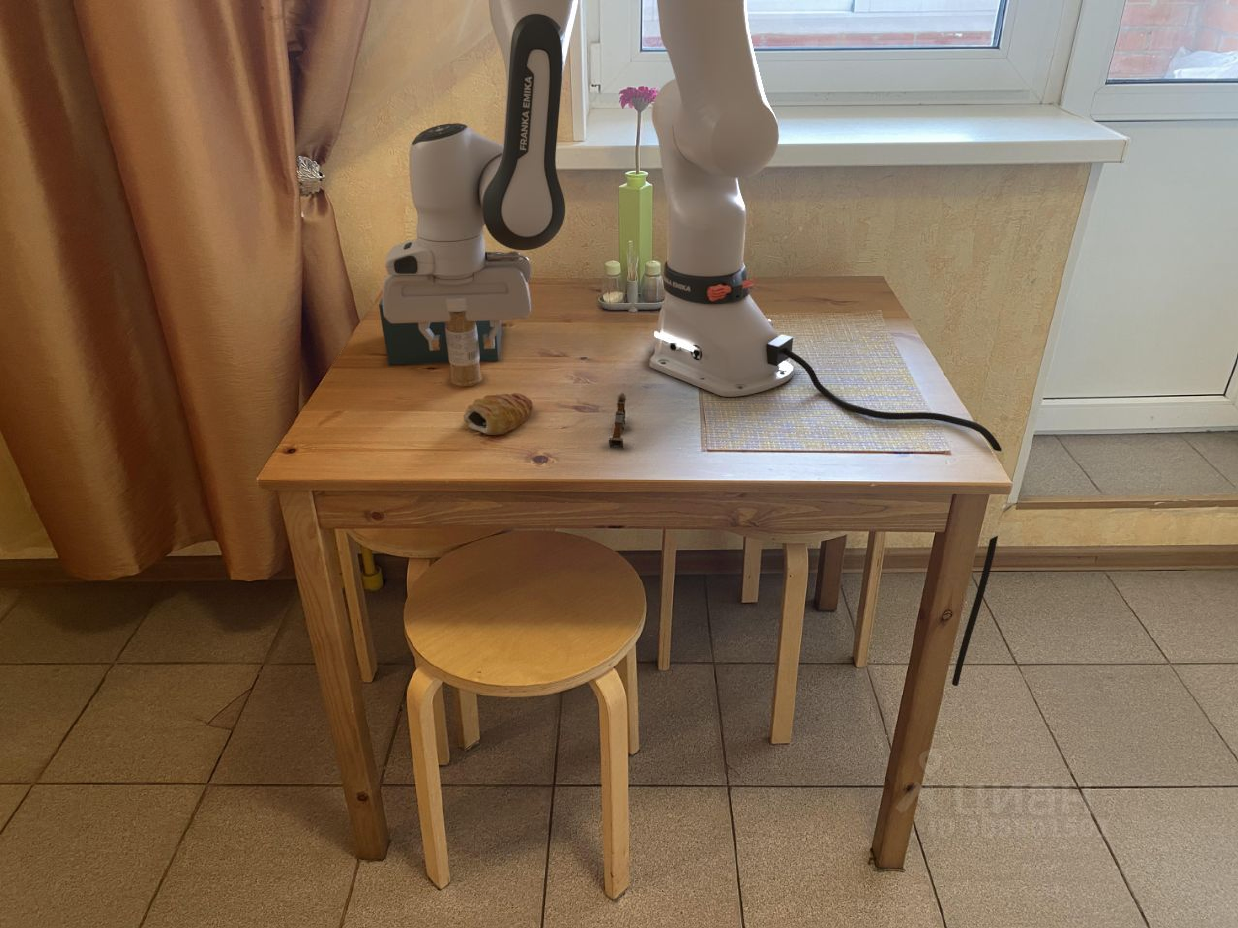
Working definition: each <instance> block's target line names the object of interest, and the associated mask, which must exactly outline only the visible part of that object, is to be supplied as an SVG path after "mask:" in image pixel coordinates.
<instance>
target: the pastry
mask: <svg viewBox="0 0 1238 928" xmlns="http://www.w3.org/2000/svg"><path fill="white" fill-rule="evenodd" d="M533 412H534V405H533V401H532V399H530V398H528V397H527V395H525V394H523V393H518V392H517V393H516V392H514V393H510V394H509V393H501V394H492V395H490V394H487V395H485V396H484V397H483V398H477V399H474V401H473V402H472V404H468V407H467V409H466V410H465V411H464V414H463V421H464V422H465V424H466V425H467V427H468V429H471V430H473V431H476V432H480V433H482V434H484V435H488V436H500V435H503V434H506V433H507V432H508V431H511V430H512V431H513V430H515V429H517V428H518V427H519V426H521V425H523V423H526V421H528V420H529V418H530V417H531V416H532V414H533Z"/></svg>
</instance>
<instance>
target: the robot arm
mask: <svg viewBox="0 0 1238 928" xmlns="http://www.w3.org/2000/svg"><path fill="white" fill-rule="evenodd" d="M656 4H657V5H656V6H657V14H658V24H659V33H660V38H661V41H662V44H663V46H664V48H665V50H666V52H667V55H668V58H669V61H670V63H671V66H672V70H673V73H674V74H673V75H674V77H675V78H673V79H671V80H669V81H668V82H666V83H665V84H664V85H663V86H662V87H661V88H660V89H659V90H658V92H657V94H656V95H655V98H654V99H653V103H652V108H651V120H652V125H653V128H654V131H655V134H656V137H657V141H658V149H659V155H660V163H661V170H662V177H663V183H664V190H665V196H666V205H667V251H666V252H667V253H666V254H667V256H666V257H667V258H666V261H665V263H664V264H663V267H664V268H663V272H662V279H663V289H664V291H665V294H664V298H663V302H662V305H661V307H660V310H659V314H658V323H657V329H656V331H654V337H655V347H654V350H653V352H654V353H653V354H652V355H651V357H650V358H649V367H650V369H653V370H656V371H658V372H660V373H663V374H666V375H669V376H671V377H673V378H675V379H678V380H681V381H683V382H685V383H688V384H691V385H693V386H695V387H698V388H700V389H703V390H705V391H707V392H710V393H711V394H715V395H718V396H721V397H725V398H726V397H727V398H729V397H731V398H733V397H743V396H744V397H745V396H750V395H754V394H758V393H761V392H765V391H768V390H771V389H774V388H776V387H779V386H780V385H783V384H785V383H787V382H788V381H789V380H791V379H792V378H793V376H794V375H795V367H794V366H793V365H792V364H790V363H789V362H788V361H786V360H788V359H791V360H793V362H794V363H797V364H798V365H799V366H800V367H801V368H803V370H805V371H806V373H807V375H808V376H809V378H810V380H811V383H812V384H813V386H814V387H815V389H816V390H817V391H818V392H819V393H821V394H822V395H823V396H824V397H825V398H827V399H828V400H830V401H832V402H833V403H835V404H836V405H837V406H839V407H840V408H842V409H844V410H847V411H849V412H853V413H856V414H860V415H864V416H866V417H867V416H868V417H871V418H875V419H882V420H898V421H899V420H932V421H938V422H939V421H940V422H945V423H949V424H952V425H956V426H961V427H965V428H969V429H972V430H973V431H975V432H977V433H979V434H981V436H983V438H985V440H986V441H987V442H988V443H989V445H990V446H991V448H992V450H994V451H995V452H1002V451H1003V449H1002V447H1001V445H1000V443H999V442H998V440H997V439H996V437H995V436H994V435H993V434H992V432H990V431H989V430H988V429H987V428H986V427H984V426H983V425H981V424H980V423H977V422H976V421H974V420H973V421H972V420H969V419H965V418H961V417H956V416H953V415H949V414H944V413H938V412H927V411H914V412H913V411H912V412H890V411H889V412H886V411H880V410H875V409H870V408H867V407H862V406H859V405H855V404H852V403H849V402H846V401H845V400H842V399H840V398H839V397H837V396H836V395H835V394H833V393H832V392H831V391H829V390H828V389H827V388H826V387H825V386H824V385H823V384H822V382H821V381H820V380H819V378H818V376H817V373H816V372H815V370H814V369H813V367H812V366H811V365H810V364H809V363H808V362H807V361H806V360H805V359H803V358H802V357H800V356H799V355H798V354H797V353H795V352H793V343H794V337H793V336H790V335H786V334H780V335H778V334H777V333H778V332H777V331H776V330H775V328H774V323H773V321H772V319H769V318H767V317H766V316H765V315H764V313H763V312H762V310H761V309H760V308H759V306H758V305H757V303H756V302H755V301H754V299H753V297H752V296H751V294H750V293H751V287H755V286H756V285H755V284H754V283H753V282H755V281H756V279H755V278H754V277H753V278H750V279H749V278H748V277H749V276H748V272H747V268H746V265H745V263H744V253H745V239H746V224H747V210H746V206H745V203H744V201H743V198H742V194H741V190H740V186H739V182H738V181H739V180H738V179H746V178H750V177H753V176H754V175H756V174H758V173H760V172H761V171H763V169H765V168H766V167H767V166H768V165H769V163H770V162H771V161H772V159H773V157H774V155H775V153H776V151H777V148H778V144H779V140H780V128H779V123H778V120H777V117H776V116H775V113H774V111H773V110H772V108H771V106H770V104H769V102H768V100H767V97H766V94H765V92H764V91H765V90H764V87H763V83H762V79H761V75H760V72H759V66H758V64H757V60H756V55H755V51H754V46H753V43H752V38H751V34H750V29H749V28H750V26H749V21H748V8H747V0H656ZM578 5H579V0H488V8H489V16H490V17H489V18H490V23H491V26H492V29H493V31H494V34H495V37H496V39H497V42H498V45H499V49H500V52H501V56H502V59H503V64H504V69H505V80H506V97H505V111H504V112H505V113H504V125H503V126H504V127H503V140H502V141H503V142H502V143H501V142H498V141H495V140H492V139H490V138H487V137H486V136H484V135H481V134H480V133H478V132H476V131H475V130H473V129H472V128H471V127H470V126H468V125H467V124H466V123H465V124H464V123H461V122H460V123H459V122H454V123H444V124H438V125H436V126H432V127H429V128H427V129H425V130H423V131H421V132H419V133H418V134H417V135H416V137H415V138H414V139H413V140H412V142H411V144H410V149H409V158H408V160H409V161H408V162H409V163H408V165H409V167H408V168H409V181H410V193H411V199H412V204H413V206H414V208H415V211H416V216H417V224H416V229H415V230H416V231H415V232H416V237H415V238H413V239H410V240H407V241H404V242H401V243H398V244H395V245H394V246H392V248H391V249H390V250H389V251H388V253H387V255H386V258H385V262H384V263H385V271H386V272H387V273H386V275H385V278H384V280H383V282H382V289H381V290H382V291H381V292H382V295H381V299H382V302H383V313H384V317H385V318H386V319H387V320H388V321H389V322H390V323H418V326H419V330H420V331H421V333H422V334H423V335H424V336H425V338H426V339H427V340H428V341H429V349H430V351H434V350H441V349H440V348H441V342H440V335H434V334H433V332H432V331H431V330H430V328H429V325H430V322H449V321H450V319H451V316H450V314H449V312H450V311H447V306H446V300H447V299H449V298H465V299H466V301H467V310H466V311H465V312H466V315H465V317H466V319H467V320H468V321H484V320H490V326H491V327H492V329H491V331H490V333H484V336H483V343H484V349H494V348H495V339H494V337H495V336H496V334H497V332H498V330H499V328H500V324H501V323H502V321H510V320H511V321H512V320H513V321H514V320H526V319H527V318H528V317H529V316H530V314H531V313H532V299H531V292H530V287H529V282H530V281H531V278H532V275H533V274H532V273H533V272H532V263H531V261H530V259H529V258H528V257H527V256H525V255H524V254H522V253H521V254H520V251H532V250H536V249H538V248H541V247H543V246H545V245H546V244H548V243H550V242H551V241H552V240H553V239H554V238H555V237H556V236H557V235H558V233H559V231H561V228H562V226H563V224H564V221H565V215H566V202H565V197H564V193H563V190H562V187H561V184H560V181H559V177H558V171H557V165H556V158H557V157H556V155H557V145H558V143H557V142H558V132H559V131H558V130H559V120H560V119H559V118H560V107H561V95H562V87H563V85H562V84H563V76H564V71H565V65H566V60H567V56H568V51H569V46H570V41H571V37H572V32H573V28H574V24H575V20H576V15H577V11H578ZM484 226H485V227H486V230H487V231H488V233H489V234H490V236H491V237H492V238H493V239H494V240H495V241H497V243H499V244H500V245H502V246H503V247H505V248H508V249H511V250H512V251H509V252H508V251H507V252H504V251H503V252H502V251H487V250H486V240H485V239H486V238H485V227H484ZM513 250H515V251H513ZM486 260H487V262H486ZM752 283H753V284H752ZM998 538H999V535H996V536H994V537H992V538H990V539H989V541H988V545H987V546H988V547H987V552H986V556H985V560H984V564H983V568H982V572H981V576H980V580H979V583H978V587H977V590H976V594H975V597H974V601H973V604H972V608H971V610H970V614H969V617H968V621H967V625H966V628H965V631H964V635H963V639H962V642H961V645H960V649H959V652H958V656H957V660H956V664H955V668H954V672H953V675H952V680H951V685H952V686H954V687H958V686H959V683H960V679H961V674H962V670H963V667H964V663H965V659H966V656H967V652H968V648H969V644H970V642H971V637H972V636H973V635H972V634H973V631H974V628H975V625H976V621H977V618H978V614H979V612H980V608H981V604H982V601H983V598H984V596H985V591H986V588H987V584H988V581H989V577H990V573H991V569H992V567H993V566H992V565H993V562H994V557H995V552H996V549H997V548H996V547H997V544H998Z"/></svg>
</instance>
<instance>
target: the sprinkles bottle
mask: <svg viewBox="0 0 1238 928" xmlns="http://www.w3.org/2000/svg"><path fill="white" fill-rule="evenodd" d="M446 306H447V311H450V312H449V314H450V316H451V319H450V321H449V322H445V332H446V341H447V349H448V357H449V362H450V363H449V369H450V382H451V383H452V384H453V385H455V386H457V387H472V386H474V385H477V384H478V383H480V382H481V381H482V378H483V375H482V373H481V365H480V362H479V360H480V357H479V346H478V336H477V327H476V322H475V321H468V320H467V319H466V317H465V315H466V312H465V311H466V310H467V301H466V299H465V298H449V299H447V300H446Z"/></svg>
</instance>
